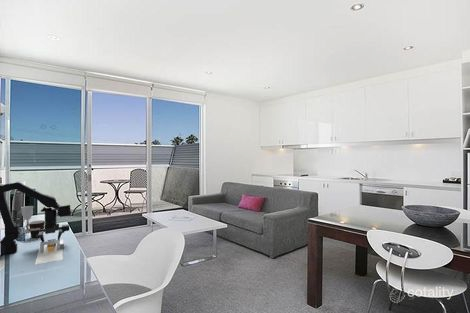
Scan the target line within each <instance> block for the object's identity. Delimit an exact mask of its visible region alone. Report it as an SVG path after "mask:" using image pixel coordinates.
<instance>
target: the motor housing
mask: <svg viewBox="0 0 470 313" xmlns="http://www.w3.org/2000/svg"><path fill="white" fill-rule="evenodd" d="M60 240H61V238H60V239H59V240H58V239H56V240H53V241H48V240H46V241H45V242H42V241H41V242H40V244H39V248H40V253H44V245H49V244H55V243H57V250H60V249H63V250H64V249H65V243H63V244H60Z"/></svg>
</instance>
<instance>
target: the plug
mask: <svg viewBox="0 0 470 313" xmlns="http://www.w3.org/2000/svg"><path fill="white" fill-rule="evenodd" d="M53 240H57V239H56V238H53V239H47V241H53ZM55 246H56V243H55V244H49V245H47V248H48V252H52V251H54V247H55Z"/></svg>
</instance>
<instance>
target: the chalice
mask: <svg viewBox="0 0 470 313" xmlns="http://www.w3.org/2000/svg"><path fill="white" fill-rule="evenodd" d="M20 208H21V216H22V217H23V219H24V220H26V225H27V224H28V225H27V228H28V229H29V230H30V228H29V223H30V222H29V220H31V218H32V217H33V214H34V205H27V206H26V205H25V206H21V207H20ZM27 228H25V229H24V230H23V234H30V231H29V230H28V229H27Z"/></svg>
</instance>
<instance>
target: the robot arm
mask: <svg viewBox="0 0 470 313" xmlns="http://www.w3.org/2000/svg"><path fill="white" fill-rule="evenodd" d="M15 190H16V191H18V192H20V193H23V194H25V195H27V196H28V197H29V196H30V197H31V198H33V199H35V200H36V201H38V202H39V203H41V204H42V205H43V208H41V209H40V212H41V213H44V221H45V224H44V229H41V230H40V228H36V229H32V230H31V234H30V237H31V236H34V235H36V236H39V237H40V238H39V239H40V241H41V242H46V241H45V235H49V234H55V233H56V231H57V232H58V234H57V240H59V239H60V240H61V236H62V234H65V232H69V231H70V224H62V225H61V226H60V223H57V216H58V217H60V218H62V217H63V218H64V217H71V216H72V211H71V205H70V204H67V205H66V204H65V205H60V204H59V203H58V202H57V198H56V197H54V196H52V195H48V194H44V193H42V192H39V191H37V190H36V189H34V188H31V187H29V186H27V185H25V184H24V183H22V182H20V181H17V182H11V183H6V184H5V183H4V184H3V183H0V216H1V219H2V221H3V225H4V237H2V239H1V240H0V257H3V256H9V255H14V254H16V253H17V252H18V243H17V241H16V240H17V239H18V238H19V236H20V235H21V231H22V229H21V228H20V223H17V224H16V222H15V221H14V218H13V216H12V212H11V209H10V206H9V203H8V200H7V192H11V191H15ZM44 233H45V235H44Z"/></svg>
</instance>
